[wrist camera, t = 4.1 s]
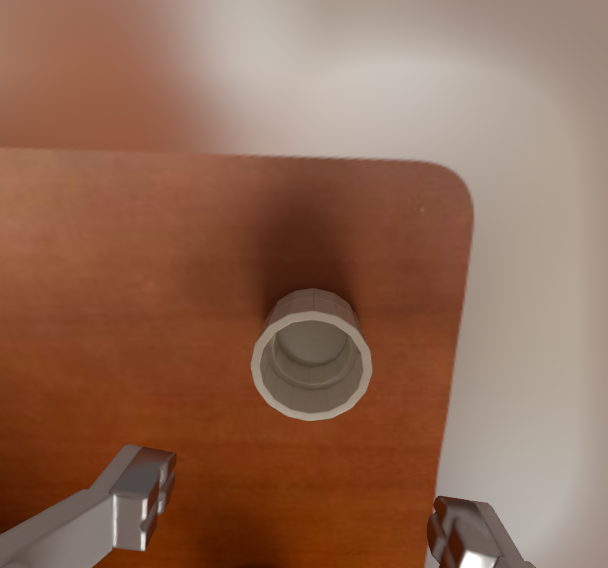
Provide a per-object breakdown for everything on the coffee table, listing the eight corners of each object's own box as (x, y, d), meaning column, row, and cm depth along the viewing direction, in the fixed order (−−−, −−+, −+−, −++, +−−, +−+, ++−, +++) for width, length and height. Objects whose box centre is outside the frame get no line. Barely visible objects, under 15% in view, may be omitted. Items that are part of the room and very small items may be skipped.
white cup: (257, 293, 21) (240, 321, 16) (352, 279, 20) (364, 303, 16) (275, 378, 22) (263, 426, 18) (364, 367, 22) (377, 413, 17)
